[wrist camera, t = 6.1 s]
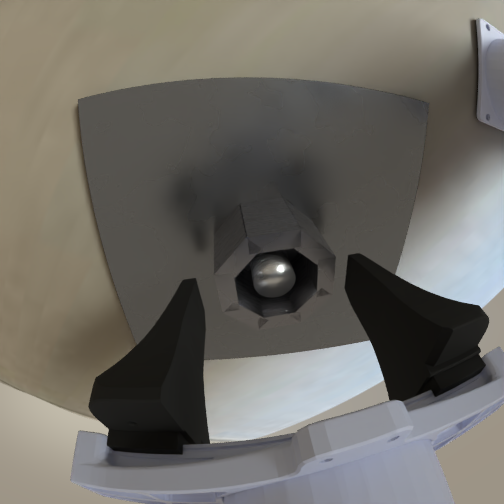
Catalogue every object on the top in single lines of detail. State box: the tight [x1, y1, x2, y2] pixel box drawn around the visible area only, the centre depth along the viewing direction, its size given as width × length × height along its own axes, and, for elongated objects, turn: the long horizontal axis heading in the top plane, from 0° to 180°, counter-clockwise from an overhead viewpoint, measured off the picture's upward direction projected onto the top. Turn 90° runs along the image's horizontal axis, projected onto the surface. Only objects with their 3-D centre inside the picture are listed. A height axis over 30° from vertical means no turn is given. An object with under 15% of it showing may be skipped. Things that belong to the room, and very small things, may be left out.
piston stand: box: [78, 78, 429, 360], centre depth 15 cm, size 18×18×3 cm
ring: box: [214, 198, 336, 330], centre depth 14 cm, size 5×5×4 cm
